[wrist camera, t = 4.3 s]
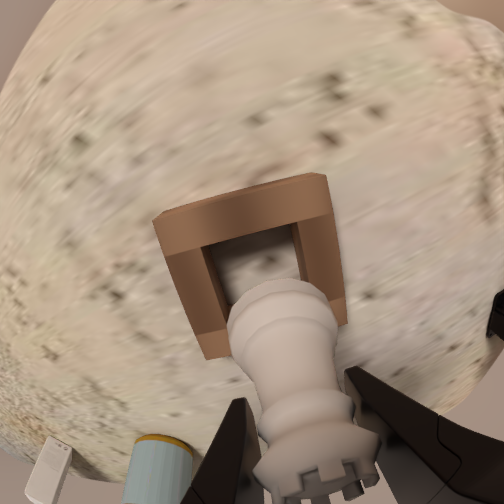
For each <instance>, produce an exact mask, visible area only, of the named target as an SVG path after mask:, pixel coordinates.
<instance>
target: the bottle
mask: <svg viewBox="0 0 504 504" xmlns="http://www.w3.org/2000/svg"><path fill="white" fill-rule="evenodd" d="M192 463H193V454H192V452H191V450H190V449H189V448H188V447H187V446H186V445H185V444H184V443H183V442H181V441H179V440H177V439H175V438H172V437H169V436H166V435H160V434H149V435H145V436H142V437H140V438H139V439H137V440H136V442H135V444H134V447H133V451H132V456H131V460H130V464H129V469H128V473H127V478H126V482H125V487H124V492H123V497H122V502H121V504H180V502H181V500H182V499H183V497H184V495H185V493H186V492H187V490H188V488H189V486H191V485H190V484H191V479H192Z"/></svg>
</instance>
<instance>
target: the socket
mask: <svg viewBox="0 0 504 504" xmlns="http://www.w3.org/2000/svg"><path fill="white" fill-rule="evenodd" d="M152 222H153V225H154V228H155V231H156V234H157V237H158V240H159V243H160V246H161V249H162V252H163V255H164V257H165V260H166V263H167V266H168V268H169V271H170V274H171V277H172V279H173V282H174V284H175V287H176V290H177V292H178V295H179V297H180V300H181V302H182V305H183V307H184V310H185V312H186V315H187V317H188V320H189V322H190V324H191V327H192V329H193V331H194V334H195V336H196V338H197V341H198V343H199V345H200V347H201V350H202V352H203V354H204V356H205V359H206V360H210V359H215V358H220V357H225V356H230V355H231V350H230V344H229V339H228V337H229V335H228V330H227V322H228V319H229V316H230V312H231V309H232V307H233V306H234V304H233V305H229V306H228V305H227V302H226V299H225V296H224V293H223V290H222V287H221V284H220V281H219V278H218V275H217V271H216V268H215V265H214V262H213V259H212V256H211V252H210V249H209V246H208V245H210V244H213V243H217V242H221V241H225V240H228V239H232V238H236V237H240V236H243V235H247V234H251V233H255V232H259V231H262V230H266V229H270V228H274V227H278V226H282V225H286V224H290V228H291V233H292V238H293V242H294V247H295V252H296V257H297V262H298V267H299V272H300V277H301V281H304V282H308V283H311V284H312V285H313V286H315V287H316V288H317V289H318V290H320V291H321V292H322V293H324V294H325V296H326V298H327V300H328V302H329V304H330V307H331V309H332V311H333V314H334V316H335V318H336V320H337V324H338V326H341V325H344V324H348V321H347V310H346V300H345V291H344V282H343V274H342V266H341V259H340V252H339V245H338V238H337V232H336V226H335V220H334V214H333V208H332V203H331V198H330V192H329V187H328V182H327V177H326V175H323V174H318V173H312V172H311V173H306V174H302V175H297V176H293V177H289V178H284V179H280V180H276V181H272V182H268V183H264V184H260V185H256V186H252V187H248V188H244V189H240V190H236V191H232V192H229V193H225V194H221V195H218V196H214V197H211V198H207V199H203V200H200V201H197V202H193V203H190V204H186V205H183V206H180V207H176V208H173V209H170V210H167V211H164V212H162V213H161V214H160V215H159V216H157V217H156V218H155V219H154V220H153V221H152Z"/></svg>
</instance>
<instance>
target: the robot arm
mask: <svg viewBox="0 0 504 504" xmlns="http://www.w3.org/2000/svg"><path fill="white" fill-rule="evenodd" d="M495 334H496V335H497V336H498V337H500V338H501V339H502V340H503V341H504V290H502V291H501V292H499V293H497V295H496V296H495V300H494V305H493V310H492V315H491V319H490V323H489V328H488V332H487V337H488V338H490V337H492V336H493V335H495ZM344 379H345V390H346V393H347V395H348V396H350V397H352V399H353V401H354V403H355V405H356V409H355V414H354V415H355V418H356V420H357V423H358V426H359V427H361V428H364V429H366V430H369V431H372V432H374V433H377V434H379V437H380V439H381V441H382V445H381V448H380V451H379V454H378V456H377V459H376V462H377V463H378V466H379V468H380V470H381V471H382V473H383V475H384V477H385V479H386V481H387V483H388V485H389V487H390V489H391V491H392V493H393V495H394V497H395V499H396V501H397V503H398V504H504V442H503V441H500V440H497V439H494V438H491V437H488V436H485V435H482V434H480V433H477V432H474V431H472V430H469V429H467V428H465V427H462V426H460V425H458V424H456V423H454V422H452V421H450V420H448V419H446V418H445V417H443V416H441V415H439V416H438V414H437V413H436V412H434V411H432V410H430V409H429V408H427V407H425V406H423V405H422V404H420V403H418V402H416V401H415V400H413V399H411V398H410V397H408V396H406V395H404V394H403V393H401V392H399V391H398V390H396V389H394V388H393V387H391V386H389V385H388V384H386V383H384V382H383V381H381V380H379V379H378V378H376V377H374V376H373V375H371V374H370V373H368V372H366V371H365V370H363V369H361V368H360V367H358V366H354V367H351V368H348V369H346V370H345V371H344ZM261 458H262V457H261V451H260V446H259V441H258V436H257V431H256V426H255V421H254V416H253V413H252V410H251V408H250V406H249V403H248V401H247V399H246V398H245V397H243V398H238V399H234V400H232V402H231V404H230V406H229V408H228V410H227V412H226V414H225V417H224V419H223V421H222V423H221V425H220V427H219V429H218V431H217V433H216V435H215V437H214V439H213V441H212V443H211V445H210V447H209V449H208V451H207V453H206V455H205V457H204V459H203V461H202V463H201V465H200V467H199V469H198V471H197V473H196V475H195V477H194V479H193V480H192V482H191V484H190V485H191V486H189V488H188V490H187V492H186V493H185V495H184V497H183V499H182V500H181V502H180V504H264V489H263V487H262V486H261V485H259V484H258V483H257V482H256V481H255V480H254V477H253V473H252V470H253V469H254V468H255V466H256V465H257V464H258V462H259V461H260V459H261Z"/></svg>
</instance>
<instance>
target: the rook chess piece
mask: <svg viewBox="0 0 504 504" xmlns="http://www.w3.org/2000/svg"><path fill="white" fill-rule="evenodd" d="M227 330H228V335H229V337H228V339H229V344H230V350H231V355H232V357H233V359H234V360H235V362H236V363H237V364H238V365H239V367H240V368H241V369H242V370H243V372H244V373H246V374H247V376H248V377H249V378H250V379H251V380H252V381H253V382H254V384H255V387H256V391H257V394H258V397H259V400H260V403H261V406H262V412H263V415H262V417H261V418H260V420H259V422H258V424H257V430H258V436H259V437H261V438H262V439H263V440H264V441H265V442H266V443H267V444H268V450H267V452H266V453H265V454H264V455H263V457H262V458H261V459H260V461H259V462H258V464H257V465H256V466H255V468H254V469H253V470H252V473H253V477H254V480H255V481H256V482H257V483H258V484H259V485H261V486H262V487H263V488H264V489H266V490H267V491H269V492H270V493H271V497H272V504H301V499H311V504H331V503H330V499H329V496H328V495H329V494H332V493H335V492H338V491H340V490H342V492H343V496H344V499H345V501H351V500H353V499H355V498H357V497H359V496H361V495H363V494H364V491H363V488H362V485H361V482H360V480H361V479H362V481H363V484H364V487H365V488H368V487H371V486H375V485H376V484H377V482H378V481H379V479H380V477H379V474H378V472H377V469H376V467H375V465H374V464H375V461H376V459H377V456H378V454H379V451H380V448H381V445H382V441H381V439H380V437H379V434H377V433H374V432H372V431H369V430H366V429H364V428H361V427H359V426H356V425H354V423H353V418H354V414H355V409H356V405H355V403H354V401H353V399H352V397H350V396H348V395H346V394H344V393H342V391H341V389H340V386H339V383H338V379H337V374H336V370H335V366H334V362H333V358H334V356H335V347H336V345H337V334H338V324H337V320H336V318H335V316H334V314H333V311H332V309H331V307H330V304H329V302H328V300H327V298H326V296H325V294H324V293H322V292H321V291H320V290H318V289H317V288H316V287H315V286H313V285H312V284H311V283H308V282H304V281H300V280H296V279H292V278H284V279H277V280H269V281H265V282H263V283H261V284H259V285H257V286H255V287H253V288H252V289H250V290H248V291H246V292H245V293H244V294H243V295H242V296H241V298H240V299H239V300H238V301H237V302H236V303H235V304H234V306H233V307H232V309H231V312H230V316H229V319H228V322H227Z"/></svg>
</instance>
